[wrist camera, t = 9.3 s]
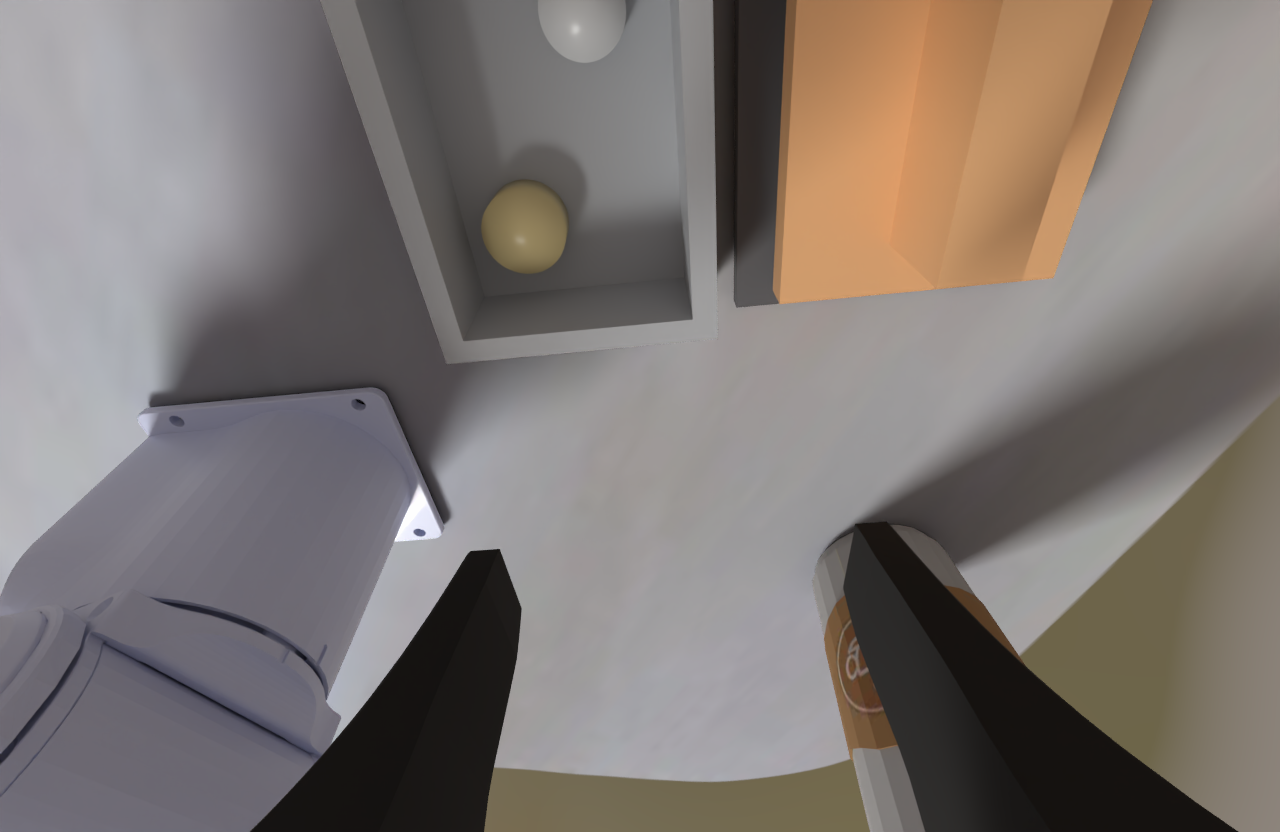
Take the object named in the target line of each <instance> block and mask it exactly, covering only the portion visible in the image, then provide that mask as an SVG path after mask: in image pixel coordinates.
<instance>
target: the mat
mask: <svg viewBox="0 0 1280 832" xmlns="http://www.w3.org/2000/svg"><path fill="white" fill-rule="evenodd" d="M786 1H787V0H735V166H734V301H735V304H736V307H747V306H758V305H768V304H779V302H778V300H777V298H776V296H775V294H774V292H773V273H774V252H775V231H776V211H777V190H778V169H779V148H780V127H781V106H782V85H783V64H784V43H785V22H786Z"/></svg>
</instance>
